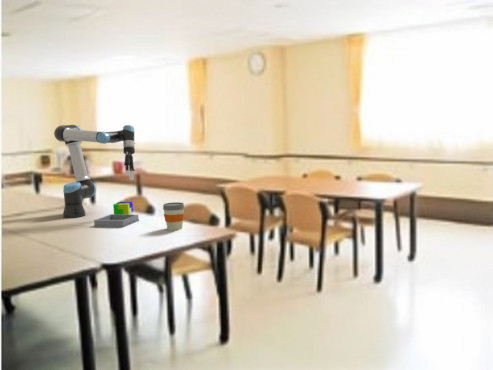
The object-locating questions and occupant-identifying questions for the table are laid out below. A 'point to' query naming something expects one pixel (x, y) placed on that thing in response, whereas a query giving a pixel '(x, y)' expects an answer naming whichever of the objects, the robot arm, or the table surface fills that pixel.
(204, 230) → the table surface
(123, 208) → the puzzle toy
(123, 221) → the tray
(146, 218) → the table surface
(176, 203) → the reusable coffee cup
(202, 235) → the table surface
